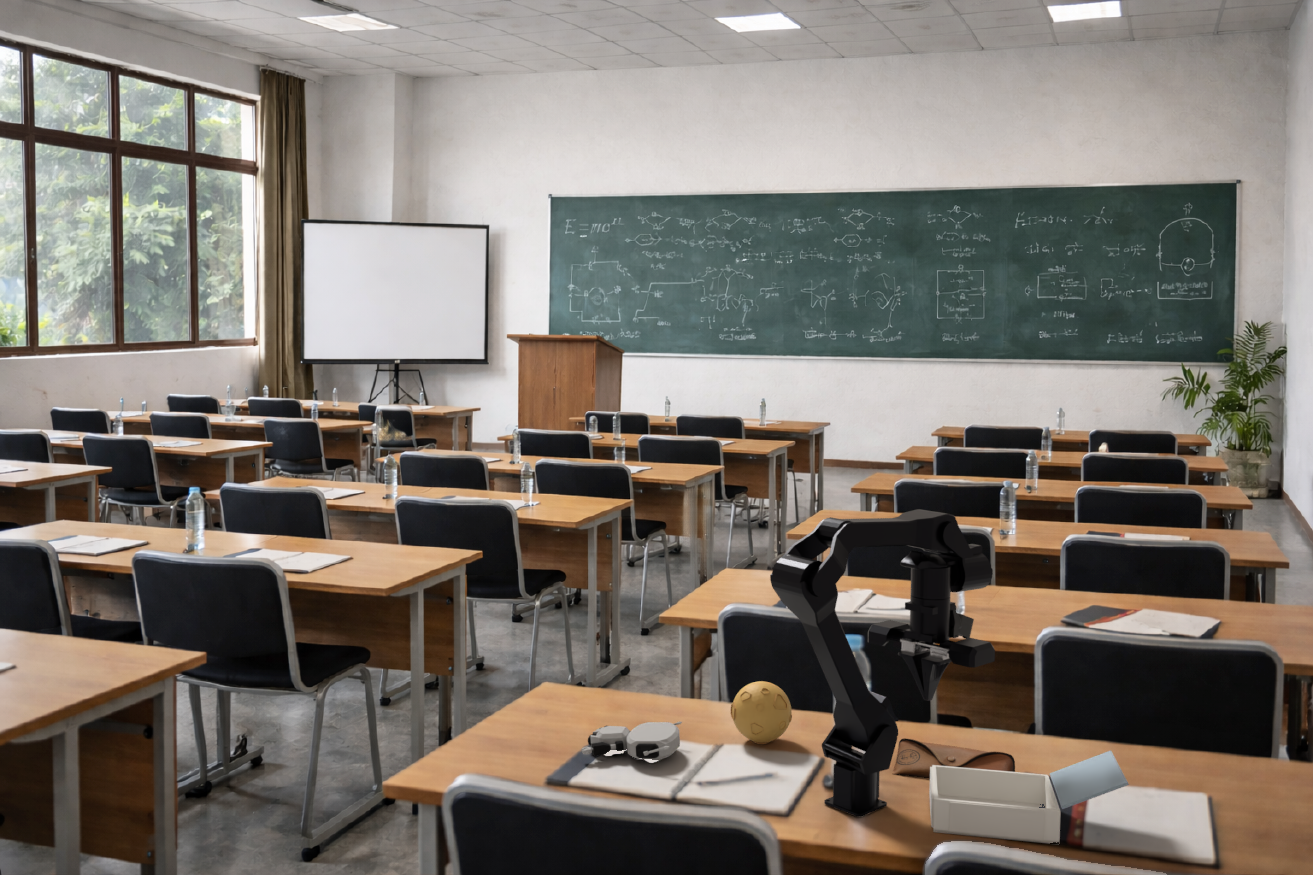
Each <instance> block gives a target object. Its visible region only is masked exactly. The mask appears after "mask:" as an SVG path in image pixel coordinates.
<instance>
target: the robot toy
mask: <svg viewBox="0 0 1313 875" xmlns="http://www.w3.org/2000/svg"><path fill="white" fill-rule="evenodd" d="M682 723H683V721H677V722H674V723H672V722H669V721H668V722H667V721H666V722H665V721H662V722H661V721H654V722H653V721H652V722H651V721H650V722H649V721H648V722H643V723H640V724H638V725H637V726H635V727H634V728H632V729H631V730H630V729H628V727H626V726H619V725H605V726H603V727H599V728H597V729H595V730H594V731H592V734H590V735H588V737H587V743H588V745H589V746H584V747H582V748H581V753H582V754H583V755H590V754H592V756H593V755H594V756H593V757H596V756H597V755H598V756H604V755H603V754H606V753H607V752H609V751H610V750H617V751H622V750H626V749H627V751H626V752H627V754H628V755H629V756H630V757H631V756H632V757H631V758H633V757H635V758H642V759H641V760H643V759H652V760H660V759H661V760H663V759H667V758H669V757H670V756H672V755H673V754H674V753H675V752H676V751H677V750H678V748H679V747H680V746H681V738H680V737H681V736H680V728H679V727H678V726H679V725H681V724H682ZM635 758H634V759H635ZM661 760H660V761H661Z"/></svg>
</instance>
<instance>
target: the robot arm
mask: <svg viewBox="0 0 1313 875" xmlns="http://www.w3.org/2000/svg"><path fill="white" fill-rule="evenodd" d="M905 546H908V547H912V548H917V549H921V550H923V552H922V551H918V550H910V552H909V553H908V555H906V556H905V557H903V559H902V560H901V561H900V566H901V567H905V568H909V569H910V601H906V602H904V610H907V611H910V612H909V624H908V623H906V622H900V621H896V620H891V619H888V620H885V621H884V620H883V621H880V622H876V623H873V624H871V626H870V627H869V629H868V631H867V643H868V644H871V645H876V646H879V647H885V646H886V645H887V644H888V643H889V641H893V642H896V643H897V642H899V643H901V649H900V651H898V653H897V655H898V656H899V657H902V659H903V660H904V662H905V664H906V665H907V666H906V667H907V668H908V669H909V671H910V673H911V675H912V677H913V679H914V680H915V683H916V686H917V687H918V690H919V692H920V694H921V697H922V699H923V701H928V702H929V701H932V700H933V698H934V697H935V696H934V695H935V694H936V691H937V688H938V686H939V684H940V682H941V681H940V680H941V679H942V676H943V674H944V672H945V670H946V669H947V668H948V666H949V665H950V663H951V662H952V664H953V665H957V666H961V667H966V668H978V667H981V666H984V665H987V664H991V663H993V662H995V661H996V660H995V659H996V656H995V655H996V653H995V652H996V650H995V647H994V645H993V644H992V643H991V641H987V640H983V639H978V638H973V637H971V634H972V630H973V625H974V622H975V619H974V618H972V617H970V616H968V615H964V614H961V613H958V612H957V605H956V602H955V601H954V602H953V601H951V594H952V593H962V592H969V591H974V590H980V589H984V588H986V587H988V586H989V585H990V583H991V582H992V579H993V575H994V574H993V573H994V572H993V568H992V565H991V563H990V560H989V559H988V558H987V556H986V555H985V554H984V553H983V546H982V545H981V544H975V543H970V544H969V543H968V542H967V540H966V537H965V535H964V534H963V531H962V530H961V528H960V526H959V524H958V521H957V518H956V516H955V515H954V514H950V513H945V512H940V511H931V510H926V509H920V508H918V509H914V510H909V511H906V512H902V513H901V514H899V515H898V516H895V517H885V518H884V517H883V518H882V517H881V518H880V517H873V518H836V517H826V518H824V519H822V520H820V521H819V522H818V524H817V525H816V526H815V528H814V529H813V530H812V531H810V532H809V533H807V534H806V535H805V536H804V537H802V538H800V539H798V540H797V541H796V542H794V543H793V544H792V545H790V546H789V548H788V549H787V551H785V553H783V555H782V556H780V557H779V559H778V560H777V561H776V562H775V564H774V566H773V568H772V572H771V574H770V577H769V580H770V584H771V587H772V590H774V592H775V593H776V596H777V597H778V598H779V599H780V601H781V603H782V604H783V605H784V606H785V607H786V608H787V609H788V610H789V611H790V612H791V613H792V614H794V615H795V617H797V619H798V620H799V621H800V622H801V624H802V626H803V629H804V632H805V634H806V635H807V638H808V641H809V643H810V644H811V647H812V649H813V652H814V654H815V656H816V658H817V661H818V663H819V665H820V667H821V670H822V672H823V675H824V677H825V679H826V681H827V683H828V686H829V688H830V691H831V693H832V695H833V697H834V700H835V704H834V709H833V713H832V714H833V716H832V717H833V722H834V725H833V727H832V728H831V730H830V731H829V733H828V734H827V736H826V737H825V739H824V740H823V742H822V743H821V748H822V749H821V750H822V752H823V756H824V757H825V758H827V759H831V760H833V761H835V763H834V764H833V778H832V779H833V783H832V784H833V785H832V790H833V791H832V796H831V797H828V798H826V799H824V802H823V803H824V804H825V805H827V806H829V807H831V808H834V809H836V810H839V811H842V812H843V813H847V814H849V815H852V816H854V817H856V818H861V817H864V816H867V815H869V814H872V813H874V812H876V811H878V810H879V811H880V810H881V809H883V808H885V807H887V805H888V802H887V801H884V800H883V799H879V797H880V772H882V771H883V772H884V771H886V770H889V769H890V767H891V763H892V759H893V756H894V753H895V748H896V744H897V742H898V736H899V727H898V724H897V722H899V721H900V719H899V717H897V715H896V714H895V713H894V709H893V706H892V703H891V700H890V699H889V697H887V696H885V695H883V694H882V695H881V694H879V693H876V692H874V691H872V690H869V687H868V685H867V683H866V680H865V678H864V676H863V673H862V670H861V669H860V666H859V664H858V662H857V661H858V660H857V659H856V656H855V655H854V652H853V650H852V647H851V645H850V642H849V639H848V638H847V636H846V634H845V631H844V629H843V625H842V623H841V621H840V619H839V617H838V616H839V615H838V614H837V611H836V607H837V602H838V597H839V591H838V587H837V583H838V582H839V580H841V578H842V577H843V575H844V574H845V572H846V571H847V566H848V562H849V556H850V554H851V552H852V551H853V550H854V549H855V548H877V547H905ZM829 548H830V550H829V553H828V555H827V556H826V558H825V559H824V560H823V561H820V560H816V559H815V558H817V557H819V556H820V555H821V554H822V553H824V552H826V551H827V550H828V549H829ZM924 552H927V553H925V554H924ZM959 637H962V638H963V639H961V640H958V641H957V640H956V641H955V640H950V639H957V638H959ZM854 748H856V749H857V750H856V749H854ZM859 750H860V751H859ZM861 751H863V752H861Z"/></svg>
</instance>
